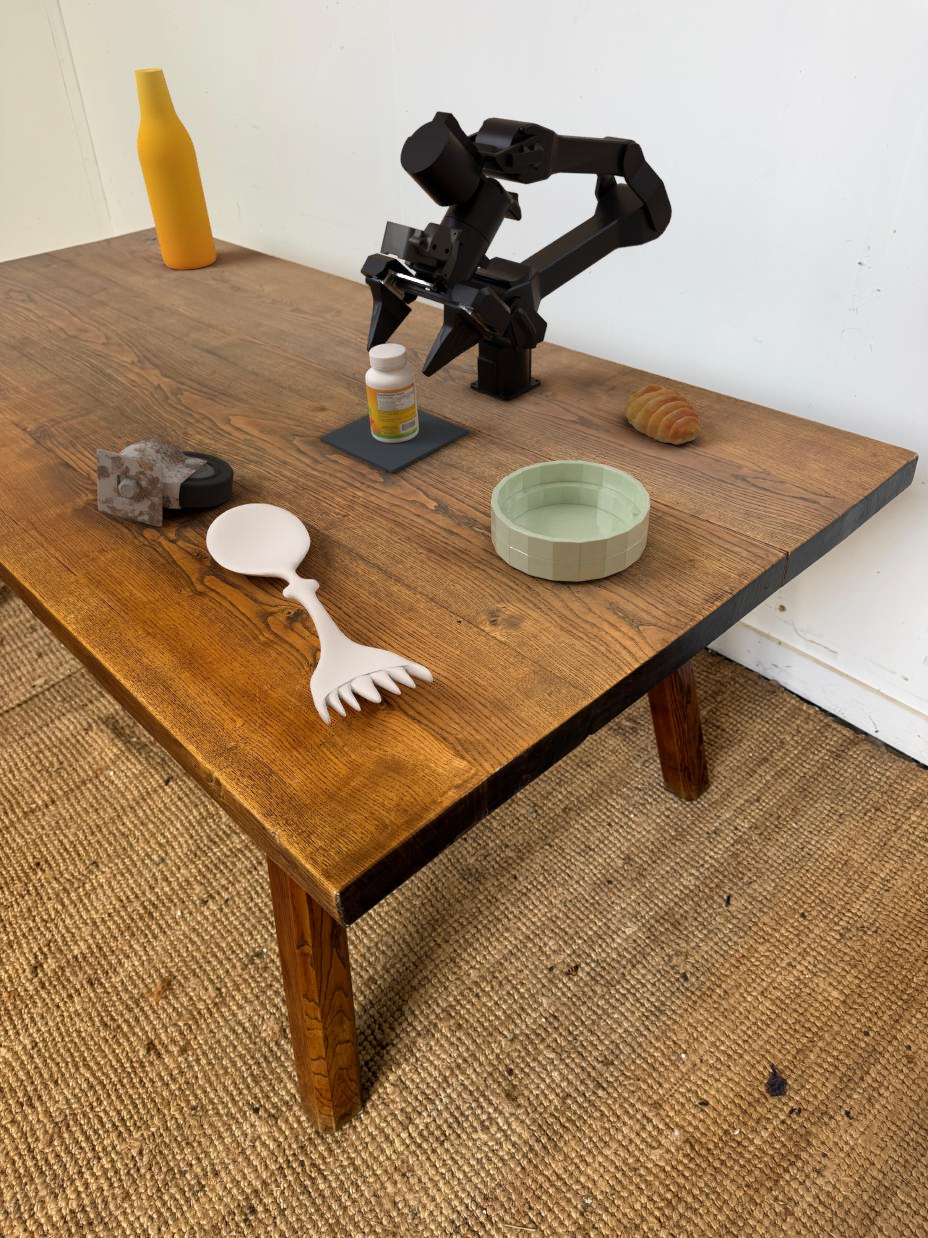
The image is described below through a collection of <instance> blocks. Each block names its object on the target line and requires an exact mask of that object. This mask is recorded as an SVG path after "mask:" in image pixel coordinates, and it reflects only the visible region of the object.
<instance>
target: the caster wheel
mask: <svg viewBox="0 0 928 1238" xmlns="http://www.w3.org/2000/svg"><path fill="white" fill-rule="evenodd" d="M234 473H235V472H234V469H233V467H232V466H231V465H230V464H229V463H228V462H227V461H225V460H224V459H222V458H219V457H217V456H215V455H212V454H208V453H204V452H196V451H190V450H185V451H184V450H183V451H182V450H180V449H179V448H178V447H177V446H176V445H174V444H172V443H171V442H169V441H167V440H163V439H158V438H157V439H155V438H150V439H149V438H148V439H144V440H141V441H138V442H135V443H133V444H131V445H129V446H127V447H125V448H123V450H121V451H120V452H118V453H117V452H114V451H110V450H107V449H106V450H105V449H101V448H96V476H97V477H96V480H97V481H96V483H97V484H96V486H97V509H98V511H99V512H102V513H105V514H109V515H112V516H115V517H120V518H123V519H128V520H131V521H134V522H139V523H142V524H146V525H149V526H154V527H157V528H161V527H163V508H166V509H173V510H174V509H177V510H181V509H182V508H190V509H192V508H193V509H201V508H210V507H211V508H212V507H216V506H219V505H221V504H224V503H226V502H227V501H228V500H229V499H230V498H231V497H232V495H233V489H234Z"/></svg>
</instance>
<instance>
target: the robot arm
mask: <svg viewBox="0 0 928 1238" xmlns="http://www.w3.org/2000/svg"><path fill="white" fill-rule="evenodd" d="M399 155H400V157H399V158H400V159H399V161H400V166H401V167H402V169H403V170H404V171H405V172H406V174H408V176H409V177H410V178H411V179H412V180H413V181H414V182H415V183H416V184H417V185H418V186H419V188H421V189H422V191H424V193H425V194H426V195H427V196H428V197H429V198H430V199H431V200H432V201H433V202H434V203H435V204H436V205H437V206H438V207H442V208H447V210H446V211H445V213H444V216H443V217H442V219H441V221H440V223H436V222H432V221H431V222H429V223H428V224H427V225H426V226H425V228H424V230H423V229H419V228H415V227H412V226H409V225H405V224H401V223H398V222H397V223H396V222H393V221H389V220H387V221H386V225H385V227H384V228H385V229H384V233H383V237H382V241H381V242H382V243H381V245H380V246H381V247H380V251H379V253H378V252H376V253H373V254H370V255H367V258H366V259H365V261H364V263H363V265H362V267H361V269H360V274H362V276H364V282H365V285H367V286H368V287H369V289H370V292H371V296H372V312H371V319H370V326H369V331H368V337H367V344H366V351H367V352H368V353H369V351H370V350H371V349H372V348H373V347H375V346H378V345H381V344H387V342H388V341H389V340H390V338H391V337H392V336H393V335H394V334H395V332H396V331H397V330H398V328H399V327H400V325H401V324H402V323H403V322H404V321H405V320H406V318H407V317H408V316H409V315H410V314H411V312H412V311H413V309H412V308H411V306H409V305H410V304H412V303H414V302H415V301H417V299H418V298H423V299H426V300H429V301H432V302H435V303H437V304H441V305H443V323H442V326H441V327H440V330H439V332H438V334H437V336H436V338H435V340H434V342H433V344H432V346H431V348H430V350H429V352H428V355H427V356H426V359H425V361H424V363H423V366H422V369H421V374H423V375H424V376H425V377H427V378H431V377H432V376H434V375H435V374H436V373H437V372H439V371H440V370H441V369H443V368H444V367H445V366H447V365H448V364H449V363H451V362H452V361H453V360H455V359H456V358H458V357H459V356H461V354H463V353H465V352H466V351H468V350H470V349H471V348H473V347H474V346H476V345H478V350H477V351H478V355H477V357H476V364H477V366H476V367H477V368H476V369H477V379H476V380H473V382H470V385H469V387H470V389H472V390H475V391H478V392H481V393H484V394H486V395H489V396H492V397H494V398H497V399H499V400H502V401H505V402H507V401H508V402H509V401H512V400H514V399H516V398H519V397H520V396H522V395H524V394H526V393H528V392H530V391H531V390H533V389H535V388H537V387H539V386H541V385H542V380H541V379H540V378H537V377H533V376H532V353H533V352H532V350H534V349H536V348H537V345H539V344H540V343H542V342H544V340H545V336H546V333H547V328H548V322H547V320H545V319H544V318H543V317H542V316H541V315H540V314H539V308H540V305H541V301H543V299H545V298H546V297H548V296H549V295H551V294H552V293H554V292H555V291H556V290H558V289H559V288H561V287H562V286H564V285H565V284H567V283H568V282H570V281H571V280H573V279H574V278H576V277H577V276H578V275H580V274H582V273H583V272H584V271H586V270H587V269H589V268H590V267H592V266H593V265H595V264H596V263H598V262H600V261H601V260H603V259H604V258H605V257H607V256H608V255H610V254H611V253H612V252H614V251H616V250H618V249H623V248H624V249H625V248H631V247H638V246H643V245H646V244H648V243H650V242H653V241H656V240H658V239H659V238H660V237H661V236H662V235H663V234H664V232H665V231H666V230H667V228H668V227H669V225H670V223H671V219H672V215H673V209H672V204H671V201H670V198H669V195H668V192H667V189H666V186H665V185H666V184H665V183H664V181H663V179H662V178H661V177H660V175H658V173H657V172H656V171H655V169H654V168H653V167H652V166H651V165H650V163H648V161H647V160H646V157H645V155H644V151H643V149H642V146H641V145H640V144H639V143H637V141H636V140H633V139H630V138H623V137H617V136H609V135H607V136H604V137H594V136H593V137H591V136H581V135H568V134H567V135H566V134H558V133H557V132H556V131H555V130H553V129H551V128H548V127H545V126H544V125H541V124H538V123H535V122H530V121H523V120H515V119H508V118H501V117H495V116H493V117H488V118H486V119H485V120H483V122H482V124H481V126H480V127H479V129H478V130H477V131H475V132H473V133H471V134H467V133H466V132H465V131H464V130H463V129H462V127H461V125H460V123H459V120H457V118H456V117H455V115H454V114H453V113H452V112H448V111H439V110H438V111H436V112H435V115H434V116H433V118H432V120H430V121H428V122H425V123H424V124H422V125H421V126H419V127H418V128H417V129H416V130H415V131H414V132H413V133H412V134H411V135H410V136H408V137H407V138H406V140H405V141H404V143H403V146H402V148H401V152H400V154H399ZM556 174H582V175H583V174H584V175H596V182H595V188H594V196H595V199H596V206H595V210H594V214H593V215H592V216H591V217H589V218H588V219H586V220H584V221H583V222H581V223H580V224H577V226H576V227H574V228H572V229H571V230H569V231H568V232H566V233H564V234H562V235H561V236H560V237H558V238H556V239H555V240H553V241H552V242H550V243H548V244H547V245H546V246H544V247H542V248H541V249H539V250H538V251H536V252H535V253H533V254H531V255H530V256H528V257H527V258H526V259H523V260H522V261H521V262H518V261H514V260H510V259H507V258H503V257H500V256H494V257H492V258H489V256H487V255H486V254H487V252H488V250H489V249H490V247H491V245H492V243H493V241H494V239H495V237H496V235H497V233H498V231H499V230H500V227H501V226H502V224H503V222H504V220H505V219H507V220H512V221H516V222H520V221H521V220H522V217H523V216H522V208H521V206H520V205H521V204H520V202H519V193H518V192H515V191H511V190H510V191H509V190H506V188H505V187H504V186H503V185H502V183H501V182H500V181H499V180H502V181H505V182H506V181H507V182H510V183H511V182H512V183H517V184H520V185H521V184H522V185H531V184H535V183H538V182H542V181H546V180H548V179H549V178H550V177H551V176H553V175H556ZM616 177H621V178H623V179H624V182H625V183H623V182H619V183H618V182H617V178H616ZM389 255H393V256H396V257H397V258H396V257H391V256H389ZM398 259H399V260H403V263H402V262H401V261H399V260H398ZM409 269H410V270H412V271H413V272H415V273H412V271H410V270H409Z"/></svg>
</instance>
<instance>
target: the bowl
mask: <svg viewBox="0 0 928 1238" xmlns="http://www.w3.org/2000/svg"><path fill="white" fill-rule="evenodd" d="M650 514H651V498H650V493H649V491H647V489H646V487H644V485H643V483H642V482H641V481H640V480H638V479H637V478H636V477H634V476H633V475H631V474H629V472H626V471H623V470H621V469H618V468H616V467H613V466H611V465H608V464H604V463H600V462H599V463H598V462H593V461H587V460H575V459H573V460H572V459H571V460H568V459H559V460H558V459H557V460H551V461H544V462H536V463H533V464H531V465H527V466H524V467H521V468H518V469H516V470H515V471H513V472H511V473H509V474H508V475H506V476H504V477H503V478H501V480H500V481H499V482H498V483H497V484H496V485H495V487H494V488H493V489H492V493H491V499H490V533H491V534H490V537H491V542H492V544H493V547H494V549H495V553H496V554H497V555H498V556H499V557H500V558H501V559H502V560H503V561H504V562H505V563H506V564H507V565H508V566H511V567H512V568H515V569H516V570H519V571H521V572H522V573H525V574H526V575H529V576H533V577H537V578H541V579H546V580H549V581H557V582H559V581H560V582H584V581H591V580H597V579H603V578H606V577H610V576H612V575H615V574H618V573H620V572H622V571H625V570H627V569H628V568H629V567H630V566H631V565H633V564H634V563H636V562H637V561H638V560H640V558H641V556H642V554H643V552H644V550H645V548H646V546H647V541H648V533H649V524H650V523H649V522H650Z"/></svg>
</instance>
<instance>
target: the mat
mask: <svg viewBox="0 0 928 1238" xmlns="http://www.w3.org/2000/svg"><path fill="white" fill-rule="evenodd" d="M417 412H418V425H419V431H418V433H417V435H416V436H415V437H414V438H412V439H410V440H408V441H404V442H400V443H384V442H381V441H378V440H377V439H375V438H374V437H373V435H372V432H371V425H370V416H369V414H367V415H365V416H363V417H361V418H359V419H357V420H355V421H352V422H350V423H348V424H346V425H344V426H342V427H340V428H337V429H335V430H333V431H331V432H328V433H326V434H324V435H322V436H320V437H319V441H321V442H323V443H325V444H327V445H329V446H331V447H333V448H336V449H338V450H340V451H342V452H344V453H346V454H348V455H351V456H353V457H354V458H357V459H360V460H362V461H363V462H366V463H368V464H370V465H373V466H375V467H376V468H379V469H381V470H383V471H386V472H387V473H390V474H394V473H396V472H398V471H400V470H402V469H403V468H406V467H408V466H410V465H412V464H413V463H416V462H417V461H420V460H421V459H423V458H425V457H426V456H429V455H431V454H432V453H435V452H436V451H439V450H440V449H442V448H444V447H445V446H448V445H450V444H452V443H454V442H455V441H457V440H459V439H461V438H463V437H465V436H467V435H469V434H470V430H469V429H467V428H464V427H462V426H460V425H457V424H454V423H452V422H450V421H447V420H444V419H441V418H439V417H436V416H434V415H431V414H429V413H427V412H424V411H421V410H419V409H417Z"/></svg>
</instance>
